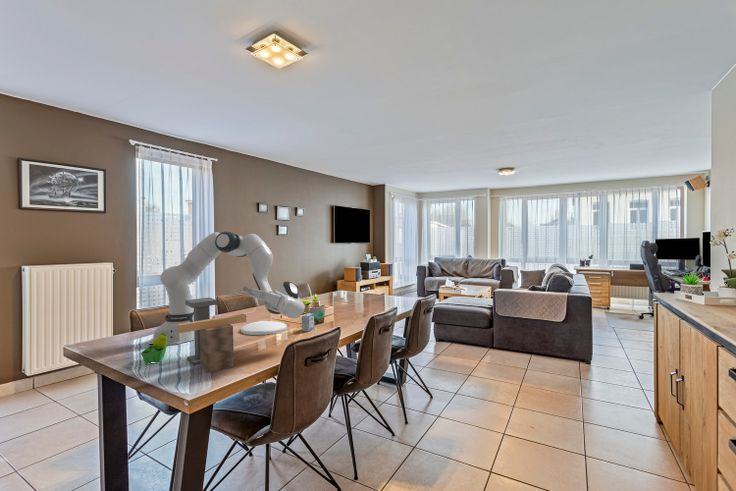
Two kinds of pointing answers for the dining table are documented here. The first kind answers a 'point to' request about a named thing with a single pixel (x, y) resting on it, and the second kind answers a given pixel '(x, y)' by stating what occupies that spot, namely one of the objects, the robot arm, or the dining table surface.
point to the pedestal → (216, 348)
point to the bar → (210, 323)
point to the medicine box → (308, 322)
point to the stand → (199, 314)
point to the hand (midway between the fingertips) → (247, 289)
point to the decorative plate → (263, 328)
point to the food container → (318, 314)
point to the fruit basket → (155, 350)
